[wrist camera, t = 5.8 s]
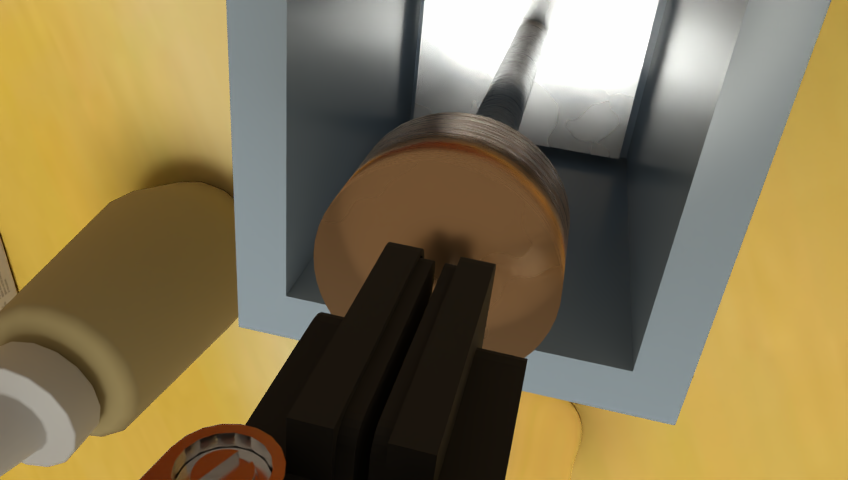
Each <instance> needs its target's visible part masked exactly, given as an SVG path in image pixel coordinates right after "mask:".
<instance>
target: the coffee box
mask: <svg viewBox="0 0 848 480" xmlns="http://www.w3.org/2000/svg"><path fill="white" fill-rule="evenodd" d="M16 295H17V290H16V287H15V283H14V280H13V277H12V274H11V270H10V267H9V264H8V261H7V257H6V254H5V251H4V248H3V244H2V241H1V238H0V311H1V310H2V309H3V308H4V307H5V306H6V305H7V304H8V303H9V302H10V301H11V300H12V299H13V298H14V297H15V296H16Z"/></svg>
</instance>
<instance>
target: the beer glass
mask: <svg viewBox="0 0 848 480" xmlns="http://www.w3.org/2000/svg"><path fill="white" fill-rule="evenodd" d="M581 437H582V425H581V421H580V417H579V415H578V413H577V411H576V409H575V408H574V406H573V405H572V404H571V403H570V402H569V401H565V400H561V399H556V398H552V397H547V396H543V395H538V394H534V393H530V392H525V391H522V393H521V398H520V403H519V409H518V414H517V419H516V425H515V430H514V435H513V441H512V446H511V451H510V457H509V462H508V467H507V473H506V478H505V480H571V474H572V468H573V464H574V461H575V458H576V455H577V452H578V449H579V446H580V442H581Z"/></svg>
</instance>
